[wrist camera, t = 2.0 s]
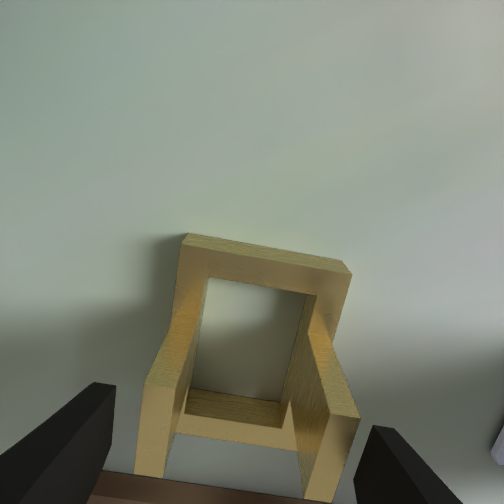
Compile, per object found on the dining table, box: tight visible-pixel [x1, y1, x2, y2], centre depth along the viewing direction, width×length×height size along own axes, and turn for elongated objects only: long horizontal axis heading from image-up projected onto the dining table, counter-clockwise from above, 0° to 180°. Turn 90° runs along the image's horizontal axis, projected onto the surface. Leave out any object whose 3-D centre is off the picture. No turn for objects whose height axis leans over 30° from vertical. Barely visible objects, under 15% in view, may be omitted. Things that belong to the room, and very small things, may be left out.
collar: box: [134, 233, 361, 503], centre depth 12 cm, size 6×8×6 cm
